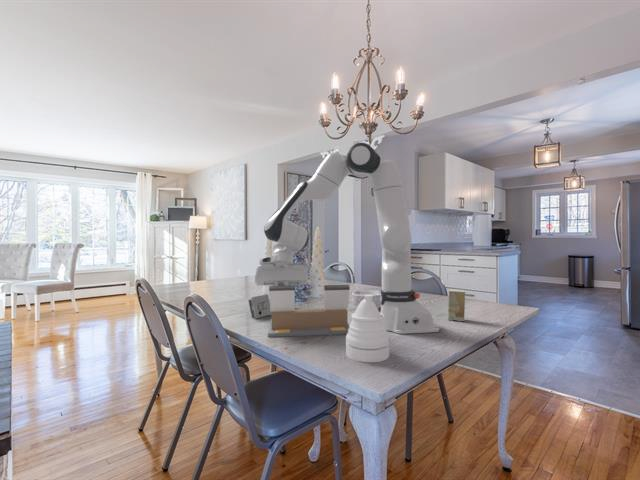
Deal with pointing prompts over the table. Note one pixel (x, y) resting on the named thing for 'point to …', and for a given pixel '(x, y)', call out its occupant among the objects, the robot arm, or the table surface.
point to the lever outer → (282, 298)
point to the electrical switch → (260, 306)
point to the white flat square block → (336, 297)
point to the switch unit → (308, 322)
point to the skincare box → (456, 305)
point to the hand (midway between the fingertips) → (281, 293)
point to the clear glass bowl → (359, 296)
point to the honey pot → (367, 334)
